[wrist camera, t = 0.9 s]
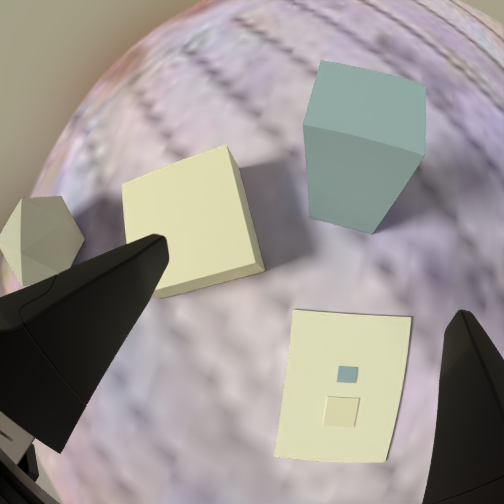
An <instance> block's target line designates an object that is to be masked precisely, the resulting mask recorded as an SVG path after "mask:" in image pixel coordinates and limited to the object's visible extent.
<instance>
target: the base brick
mask: <svg viewBox="0 0 504 504" xmlns="http://www.w3.org/2000/svg"><path fill="white" fill-rule="evenodd" d="M122 199H123V211H124V223H125V233H126V242H127V244H128V243H131V242H133V241H135V240H138V239H140V238H143V237H146V236H148V235H151V234H159V235H163V236H165V237H166V239H167V244H168V250H169V263H168V266H167V267H166V269H165V271H164V273H163V275H162V277H161V279H160V281H159V283H158V285H157V287H156V289H155V291H154V293H153V295H152V297H151V298H157V299H161V298H165V297H169V296H173V295H177V294H181V293H185V292H189V291H192V290H196V289H200V288H204V287H208V286H212V285H215V284H219V283H223V282H227V281H230V280H234V279H238V278H242V277H245V276H249V275H253V274H257V273H260V272H264V271H265V268H264V264H263V260H262V256H261V252H260V248H259V244H258V241H257V237H256V233H255V229H254V225H253V221H252V217H251V213H250V209H249V205H248V201H247V197H246V193H245V190H244V186H243V182H242V178H241V174H240V170H239V167H238V165H237V163H236V162H235V160H234V158H233V156H232V154H231V152H230V150H229V149H228V147H227V145H223V146H220V147H217V148H214V149H211V150H208V151H205V152H202V153H200V154H197V155H194V156H191V157H189V158H186V159H183V160H181V161H178V162H175V163H173V164H170V165H167V166H165V167H162V168H160V169H157V170H155V171H152V172H150V173H147V174H145V175H143V176H140V177H138V178H136V179H133V180H131V181H129V182H126V183H124V184H122Z"/></svg>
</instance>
